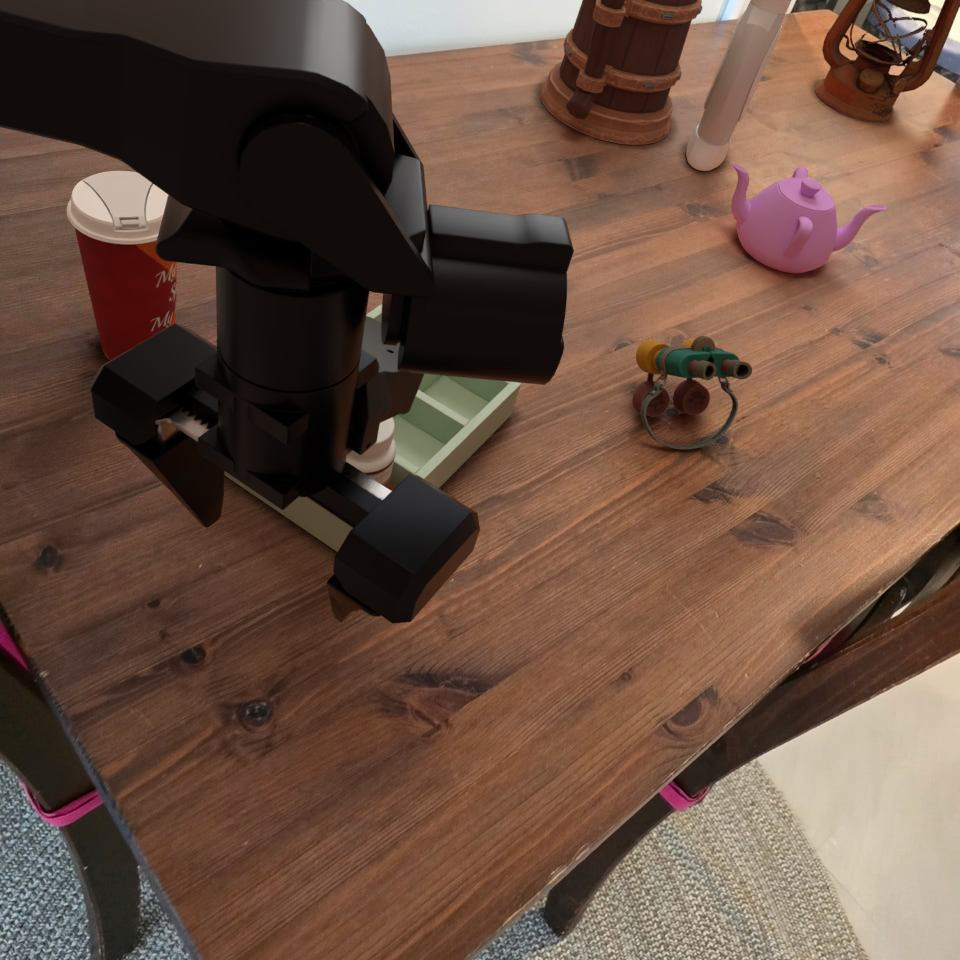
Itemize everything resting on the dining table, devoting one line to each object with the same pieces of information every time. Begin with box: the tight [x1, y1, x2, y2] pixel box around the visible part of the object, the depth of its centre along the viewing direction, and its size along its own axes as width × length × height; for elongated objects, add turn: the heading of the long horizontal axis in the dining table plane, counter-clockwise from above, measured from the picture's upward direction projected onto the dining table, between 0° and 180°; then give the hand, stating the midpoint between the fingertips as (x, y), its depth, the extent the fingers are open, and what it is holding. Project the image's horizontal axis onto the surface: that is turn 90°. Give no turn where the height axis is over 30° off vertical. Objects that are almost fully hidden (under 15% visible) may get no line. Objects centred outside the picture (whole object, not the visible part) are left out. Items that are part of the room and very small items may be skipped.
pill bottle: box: [346, 417, 396, 488], centre depth 62 cm, size 5×5×8 cm
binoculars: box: [631, 335, 753, 450], centre depth 76 cm, size 9×9×10 cm
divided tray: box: [224, 303, 522, 553], centre depth 70 cm, size 14×21×4 cm
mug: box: [539, 0, 703, 146], centre depth 111 cm, size 18×23×20 cm
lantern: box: [814, 0, 960, 124], centre depth 130 cm, size 17×13×30 cm
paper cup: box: [66, 170, 178, 361], centre depth 68 cm, size 8×8×14 cm
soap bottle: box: [685, 0, 793, 172], centre depth 108 cm, size 13×8×24 cm, turn 157°
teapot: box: [730, 162, 888, 274], centre depth 101 cm, size 12×14×9 cm
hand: (276, 567), depth 47 cm, fingers open, 9 cm apart
